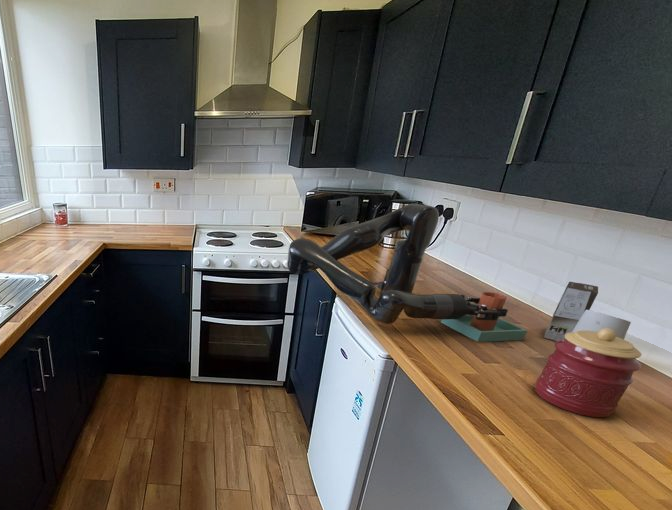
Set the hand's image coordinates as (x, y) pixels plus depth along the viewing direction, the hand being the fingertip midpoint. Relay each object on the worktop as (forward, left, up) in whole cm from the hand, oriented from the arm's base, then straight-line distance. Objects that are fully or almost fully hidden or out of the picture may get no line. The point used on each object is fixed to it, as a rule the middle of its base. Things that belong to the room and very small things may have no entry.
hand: (493, 307), depth 119 cm
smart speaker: (+19, +12, -8) cm, 24 cm away
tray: (0, -1, -8) cm, 8 cm away
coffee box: (+6, +20, -8) cm, 22 cm away
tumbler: (0, -1, -7) cm, 7 cm away
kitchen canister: (+35, -13, -8) cm, 38 cm away
